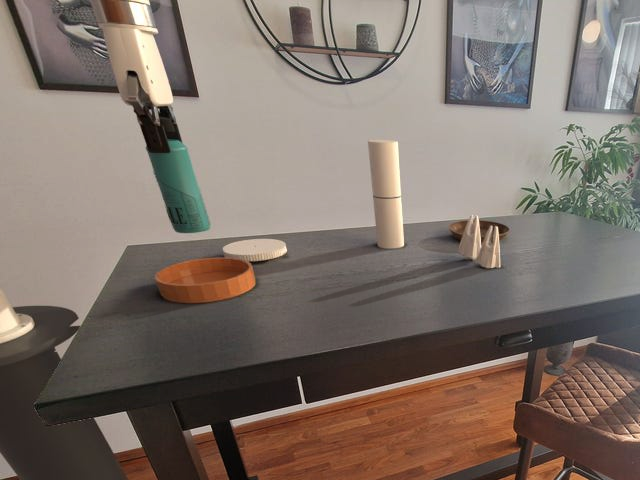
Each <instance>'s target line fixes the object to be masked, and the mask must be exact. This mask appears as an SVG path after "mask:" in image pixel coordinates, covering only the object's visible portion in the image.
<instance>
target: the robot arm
mask: <svg viewBox="0 0 640 480" xmlns="http://www.w3.org/2000/svg"><path fill="white" fill-rule="evenodd" d="M89 1H90V4H91V7H92V9H93V13H94V15H95V19H96V22H97V24H98V27H99V29H100V30H102V33H103V39H104V43H105V47H106V52H107V55H108V59H109V62H110V66H111V69H112V73H113V76H114V79H115V83H116V86H117V89H118V92H119V96H120V99H121V100H122V102H123V103H124V104H126V105H127V106H131V107H132V109H133V112H134V114H135V115H136V120H137V123H138V125H139V127H140V130H141V133H142V137H143V139H144V142H145V146H147V148H148V151H149V152H150V153H170V152H171V150H170V146H169V143H168V140H167V139H172V140H179V141H180V142H182V143H183V139H182V136H181V132H180V130H179V126H178V123H177V118H176V116H175V114H174V108H173V107H172V104H173V103H174V97H173V92H172V89H171V85H170V81H169V78H168V75H167V71H166V69H165V66H164V63H163V59H162V56H161V54H160V53H161V52H160V50H159V48H158V45H157V42H156V39H155V37H154V35H158V34H159V30H158V27H157V23H156V20H155V16H154V14H153V10H152V7H151V3H150V0H89ZM159 117H164V118H170V119H171V121H172V124H173V126H174V128H175V132H165V130H164V127H163V126H160V121H159ZM183 144H184V143H183ZM12 307H13V306H12V305H11V302H10V301H9V298H8V297H7V295H6V294H5V292H4V291H3V288H2V287H1V286H0V344H1V343H5V342H8V341H10V340H13V339H16V338H18V337H20V336H22V335H24V334H26V333H28V332H29V331H30V330H31V329H32V328H33V327H34V325H35V323H34V321H33V319H32V318H31V317H30V316H28V315H25V314H17V313H15V311H14V310H13V308H12Z"/></svg>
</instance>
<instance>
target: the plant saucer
mask: <svg viewBox="0 0 640 480" xmlns="http://www.w3.org/2000/svg"><path fill="white" fill-rule="evenodd" d="M468 220H469V219H467V220H459V221H456V222H453V223H450V224H449V226H448V230H449V231H450V233H451V235H452V236H454V238H455V239H457V240H458V241H460V242H461V239H462V236H463V233H464V231H465V228H466V225H467V223H468ZM474 222H475V219H473V224H474ZM490 226H492V238H491V244H492V243H493V236H494V229H495V226H497V227H498V234H499V242H501V241H503V239H505V238H506V236H507V235H508V234H509V232H510V231H511V229H510V227H509V226H507V225H506V224H503V223H500V222H497V221H490V220H480V219H479V227H480V238H481V245H482V243H483V241H484V239H485V236H486V234H487V232H488V229H489V227H490Z"/></svg>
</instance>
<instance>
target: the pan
mask: <svg viewBox="0 0 640 480" xmlns="http://www.w3.org/2000/svg"><path fill="white" fill-rule="evenodd" d="M154 281H155V284H156V286H157V289H158V291H159V293H160V296H161V297H162V298H163V299H165V300H167V301H169V302H173V303H174V302H175V303H178V304H179V303H181V304H201V303H211V302H219V301H223V300H227V299H231V298H234V297H237V296H240V295H242V294H245V293H247V292H248V291H250V290H252V289H253V288H254V287H255V285H256V283H257V282H256V277H255V272H254V269H253V265H252V263H251V262H250V261H245V260H242V259H236V258H225V257H205V258H196V259H191V260H186V261H182V262H176V263H174V264H171V265H168V266H166V267H164V268H161V269H159V270H158V271H157V272H156V273H155V274H154Z"/></svg>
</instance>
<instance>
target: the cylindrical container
mask: <svg viewBox="0 0 640 480" xmlns="http://www.w3.org/2000/svg"><path fill="white" fill-rule="evenodd" d="M367 148H368V157H369V170H370V179H371V180H370V181H371V189H372V199H373V201H372V202H373V211H374V222H375V232H376V234H375V235H376V242H377V243H376V244H377V247H378V248H381V249H385V250H386V249H387V250H393V249H400V248H403V247H404V246H405V239H404V238H405V237H404V223H403V221H404V220H403V206H402V205H403V204H402V190H401V189H402V188H401V177H400V176H401V172H400V158H399V157H400V156H399V155H400V154H399V142H398V140H393V139H370V140H367Z"/></svg>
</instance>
